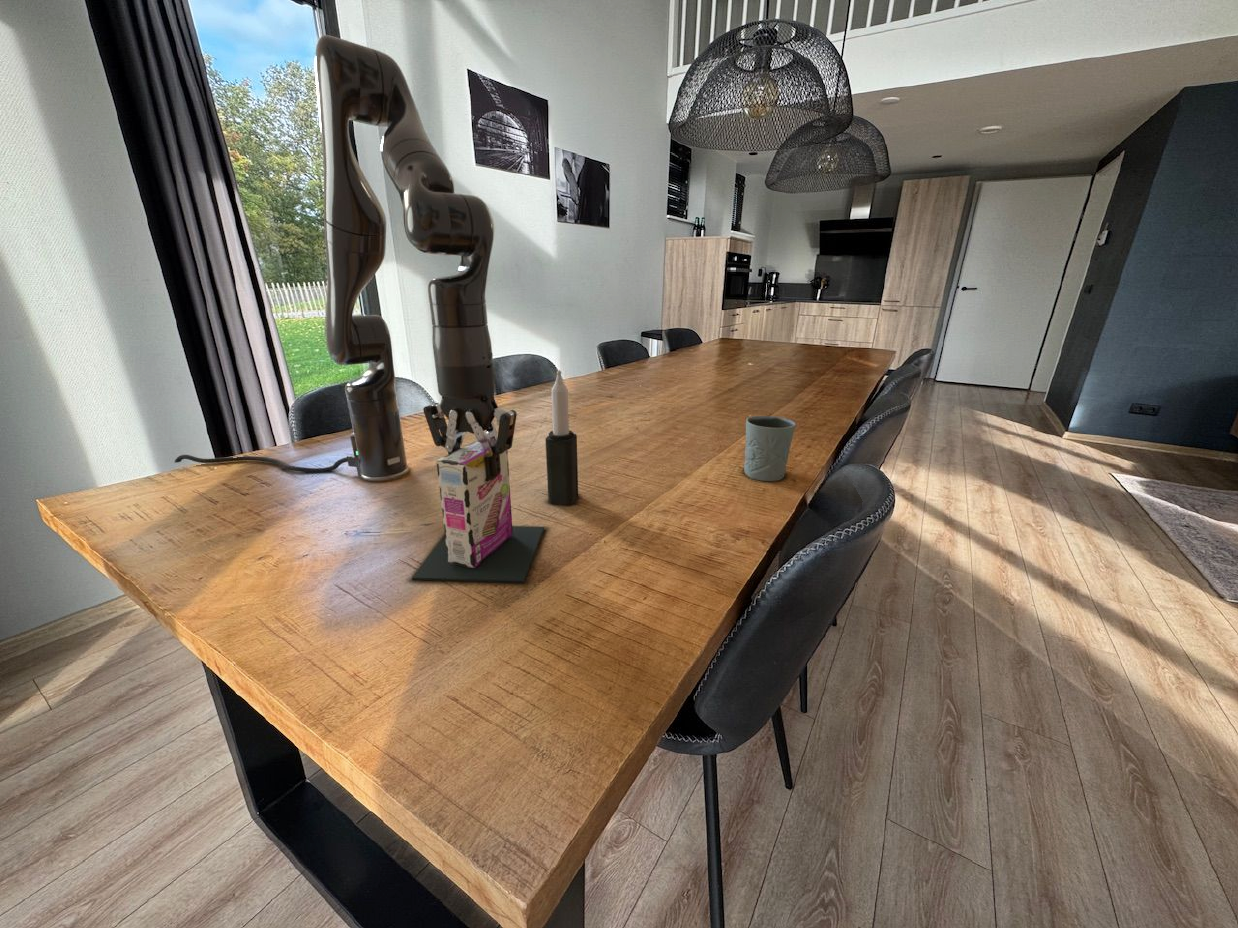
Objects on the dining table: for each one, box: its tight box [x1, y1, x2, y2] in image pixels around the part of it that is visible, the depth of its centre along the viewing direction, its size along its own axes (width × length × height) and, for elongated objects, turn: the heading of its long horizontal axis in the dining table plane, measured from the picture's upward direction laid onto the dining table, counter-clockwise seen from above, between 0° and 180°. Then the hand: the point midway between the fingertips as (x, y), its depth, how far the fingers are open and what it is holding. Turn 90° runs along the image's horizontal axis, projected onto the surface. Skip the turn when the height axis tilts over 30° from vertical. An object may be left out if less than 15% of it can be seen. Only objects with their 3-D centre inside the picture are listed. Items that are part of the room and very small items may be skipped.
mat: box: [411, 525, 545, 584], centre depth 77 cm, size 16×16×1 cm
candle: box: [544, 369, 579, 506], centre depth 91 cm, size 5×5×25 cm
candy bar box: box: [435, 440, 513, 568], centre depth 74 cm, size 11×5×16 cm, turn 161°
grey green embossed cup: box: [743, 415, 797, 482], centre depth 106 cm, size 10×10×12 cm
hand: (476, 475), depth 72 cm, fingers closed on candy bar box, 5 cm apart
